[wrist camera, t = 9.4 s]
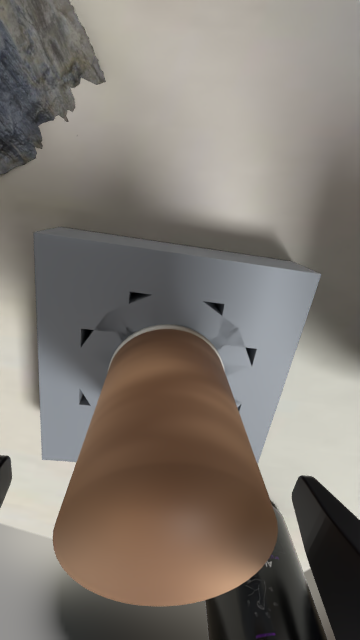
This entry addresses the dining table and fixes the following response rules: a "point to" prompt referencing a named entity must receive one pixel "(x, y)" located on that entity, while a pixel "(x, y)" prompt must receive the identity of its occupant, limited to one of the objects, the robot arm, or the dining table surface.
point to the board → (159, 321)
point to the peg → (165, 480)
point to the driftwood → (38, 72)
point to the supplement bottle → (268, 601)
